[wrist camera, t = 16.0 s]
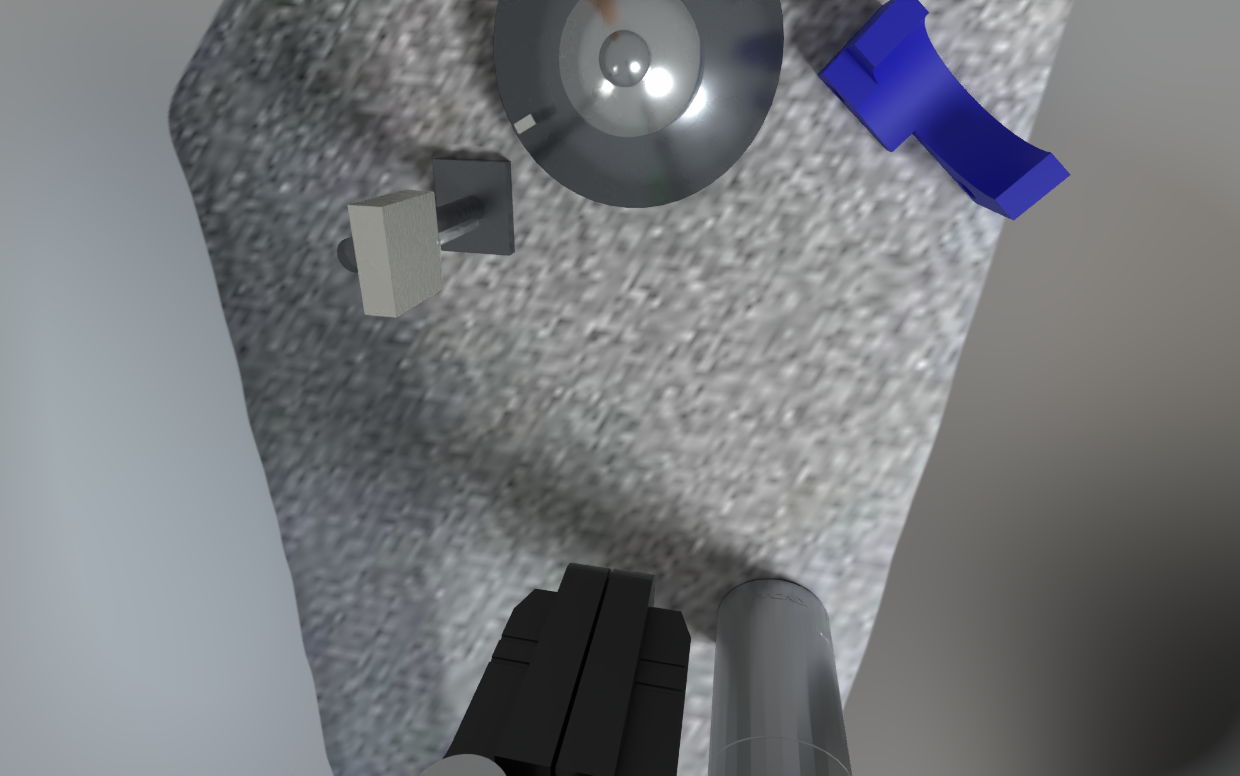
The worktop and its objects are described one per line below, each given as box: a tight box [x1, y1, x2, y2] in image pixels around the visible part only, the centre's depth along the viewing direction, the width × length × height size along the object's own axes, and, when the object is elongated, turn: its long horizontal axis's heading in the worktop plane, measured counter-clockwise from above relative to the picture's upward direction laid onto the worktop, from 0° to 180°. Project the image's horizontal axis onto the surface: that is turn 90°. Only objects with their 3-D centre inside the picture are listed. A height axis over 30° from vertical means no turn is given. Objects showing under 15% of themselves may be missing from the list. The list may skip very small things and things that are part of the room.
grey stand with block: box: [337, 158, 515, 317], centre depth 35 cm, size 6×5×16 cm
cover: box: [559, 0, 705, 137], centre depth 32 cm, size 7×7×5 cm
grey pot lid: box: [494, 0, 784, 208], centre depth 32 cm, size 16×16×8 cm
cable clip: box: [818, 0, 1070, 220], centre depth 33 cm, size 12×4×6 cm, turn 48°
